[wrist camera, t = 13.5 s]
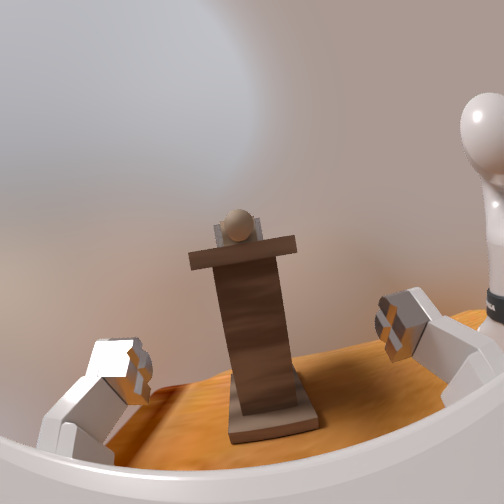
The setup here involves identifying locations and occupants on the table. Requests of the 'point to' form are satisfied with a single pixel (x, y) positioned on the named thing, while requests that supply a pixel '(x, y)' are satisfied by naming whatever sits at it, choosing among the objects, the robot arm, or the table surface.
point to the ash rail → (238, 228)
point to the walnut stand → (257, 341)
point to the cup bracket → (220, 240)
